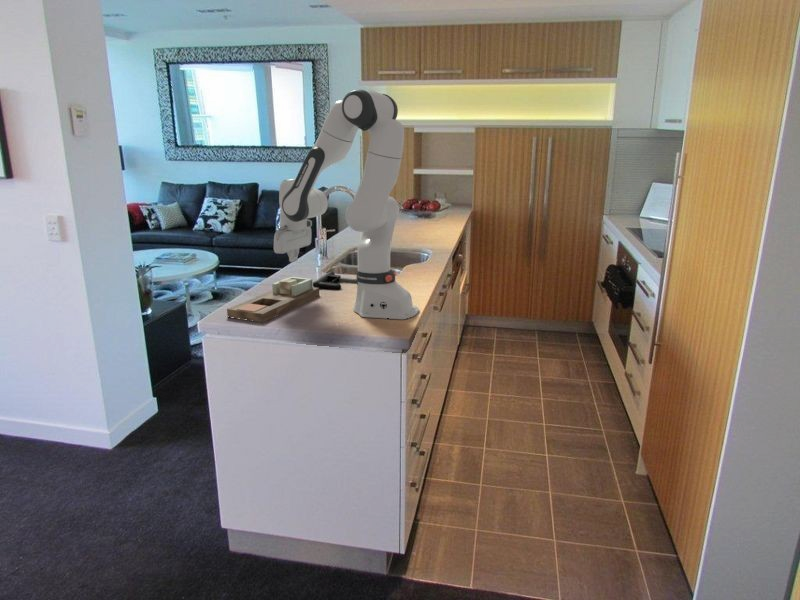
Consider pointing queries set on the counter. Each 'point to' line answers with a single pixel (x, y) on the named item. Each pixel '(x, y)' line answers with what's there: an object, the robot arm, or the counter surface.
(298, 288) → the cubby
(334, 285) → the door handle
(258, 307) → the tile
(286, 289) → the cube
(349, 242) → the counter surface
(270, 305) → the board
